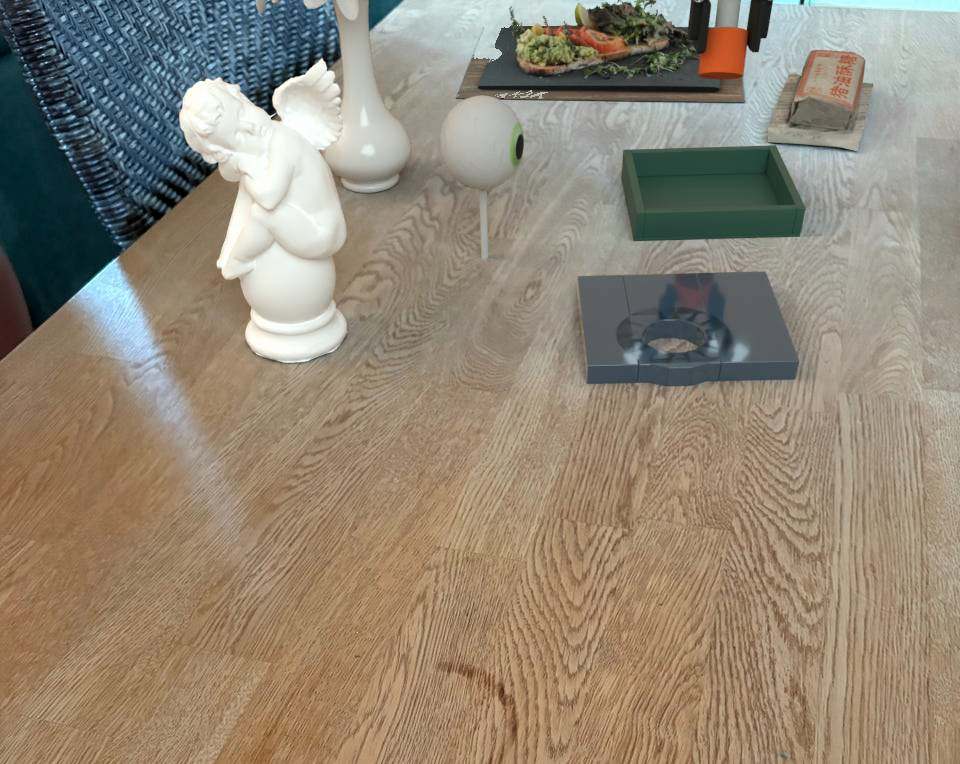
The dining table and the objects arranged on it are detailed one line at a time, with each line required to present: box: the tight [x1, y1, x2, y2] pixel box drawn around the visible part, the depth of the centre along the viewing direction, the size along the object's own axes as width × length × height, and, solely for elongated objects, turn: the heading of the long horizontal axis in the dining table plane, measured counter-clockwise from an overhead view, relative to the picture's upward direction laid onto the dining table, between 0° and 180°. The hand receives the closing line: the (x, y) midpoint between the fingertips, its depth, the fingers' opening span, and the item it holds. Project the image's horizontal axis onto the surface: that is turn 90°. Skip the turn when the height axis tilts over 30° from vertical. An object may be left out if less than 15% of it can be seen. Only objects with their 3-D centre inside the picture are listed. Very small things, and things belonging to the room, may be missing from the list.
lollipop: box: [439, 95, 525, 260], centre depth 89 cm, size 7×7×15 cm
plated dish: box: [455, 0, 746, 103], centre depth 129 cm, size 35×28×7 cm
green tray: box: [620, 144, 807, 242], centre depth 101 cm, size 16×15×3 cm
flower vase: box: [254, 0, 413, 194], centre depth 99 cm, size 13×18×25 cm
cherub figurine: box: [178, 57, 349, 364], centre depth 80 cm, size 12×12×22 cm
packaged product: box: [767, 49, 874, 152], centre depth 114 cm, size 18×5×10 cm
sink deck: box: [576, 270, 800, 387], centre depth 83 cm, size 16×15×3 cm
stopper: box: [698, 0, 749, 79], centre depth 90 cm, size 4×4×9 cm
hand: (725, 45), depth 91 cm, fingers closed on stopper, 4 cm apart
